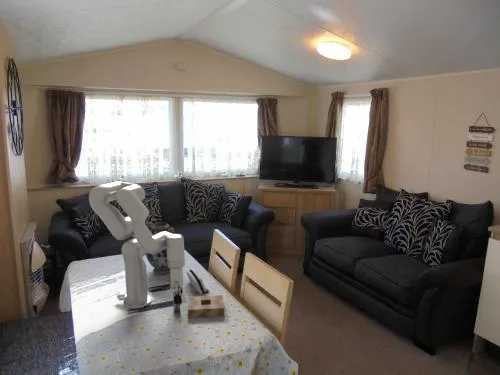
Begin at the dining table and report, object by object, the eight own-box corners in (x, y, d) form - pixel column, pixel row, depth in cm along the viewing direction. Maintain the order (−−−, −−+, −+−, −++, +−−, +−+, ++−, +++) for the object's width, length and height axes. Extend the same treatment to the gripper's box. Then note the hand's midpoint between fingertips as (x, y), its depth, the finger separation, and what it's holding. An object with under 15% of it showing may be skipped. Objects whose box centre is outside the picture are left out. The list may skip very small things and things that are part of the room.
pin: (173, 313, 172) (172, 293, 170) (173, 310, 175) (173, 290, 173) (180, 313, 172) (179, 292, 170) (180, 310, 175) (180, 289, 173)
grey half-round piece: (209, 292, 193) (203, 275, 189) (201, 296, 191) (194, 280, 187) (198, 279, 207) (192, 263, 204) (190, 283, 205) (184, 268, 202)
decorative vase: (188, 269, 219) (186, 222, 213) (164, 281, 204) (162, 231, 198) (161, 261, 230) (158, 216, 225) (137, 272, 215) (134, 224, 209)
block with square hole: (187, 318, 168) (187, 310, 167) (188, 304, 180) (188, 296, 179) (224, 316, 170) (224, 307, 170) (222, 302, 182) (222, 295, 181)
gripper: (169, 256, 176) (171, 290, 180) (166, 270, 160) (168, 308, 163) (185, 254, 177) (187, 289, 180) (184, 269, 160) (186, 307, 164)
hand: (178, 298), depth 172 cm, fingers open, 9 cm apart
